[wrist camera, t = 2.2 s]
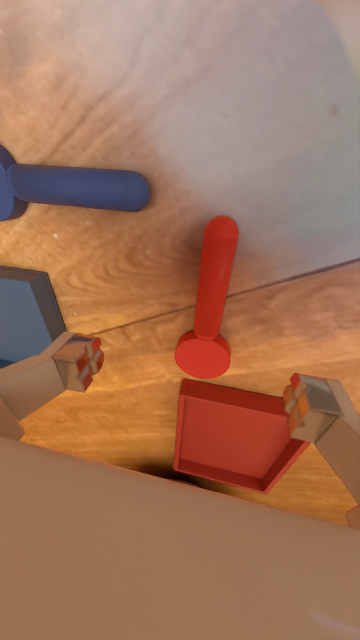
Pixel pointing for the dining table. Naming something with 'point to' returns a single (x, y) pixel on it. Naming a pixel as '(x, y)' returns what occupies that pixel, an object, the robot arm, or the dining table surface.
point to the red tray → (233, 436)
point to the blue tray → (26, 314)
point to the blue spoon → (68, 187)
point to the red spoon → (210, 304)
